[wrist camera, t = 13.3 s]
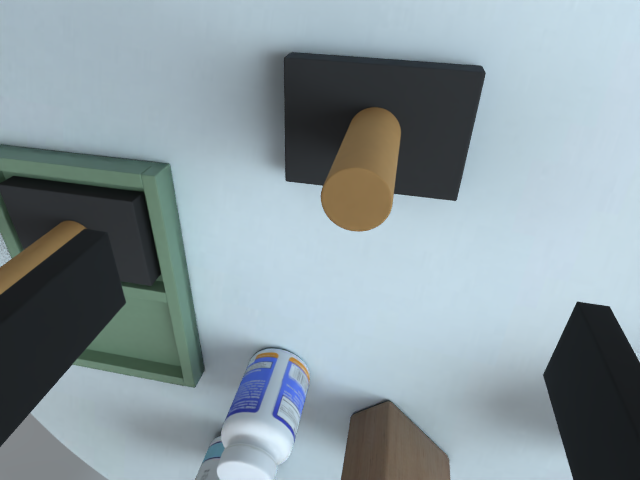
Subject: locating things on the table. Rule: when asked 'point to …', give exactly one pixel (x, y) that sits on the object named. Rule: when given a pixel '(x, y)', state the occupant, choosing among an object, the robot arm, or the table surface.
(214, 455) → the beverage can
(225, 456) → the pill bottle
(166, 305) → the pad holder
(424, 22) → the table surface
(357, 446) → the wooden block
